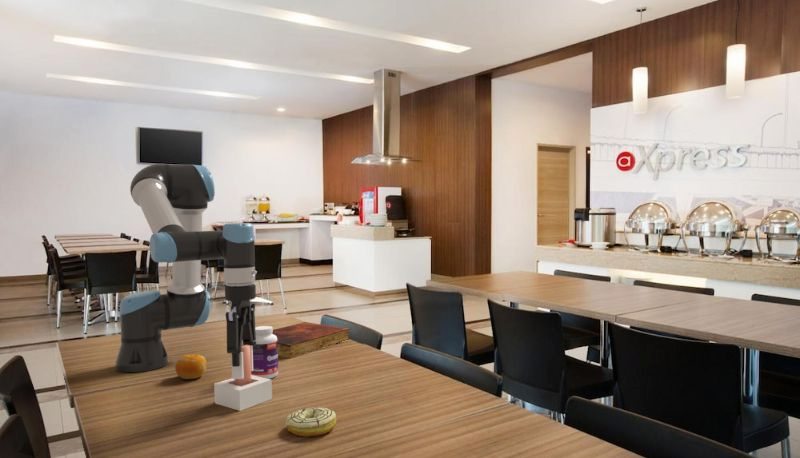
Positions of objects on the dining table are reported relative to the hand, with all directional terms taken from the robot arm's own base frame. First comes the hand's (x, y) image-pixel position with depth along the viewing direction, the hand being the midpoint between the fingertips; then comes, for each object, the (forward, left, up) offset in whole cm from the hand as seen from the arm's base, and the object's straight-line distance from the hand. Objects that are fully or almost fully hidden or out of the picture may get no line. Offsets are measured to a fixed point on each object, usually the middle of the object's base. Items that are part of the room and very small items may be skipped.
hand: (242, 374), depth 138 cm
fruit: (-30, +5, -7) cm, 31 cm away
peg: (0, 0, -7) cm, 7 cm away
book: (-32, +50, -8) cm, 60 cm away
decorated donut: (+27, -3, -7) cm, 29 cm away
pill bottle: (-12, +17, -7) cm, 22 cm away
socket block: (0, 0, -7) cm, 7 cm away
